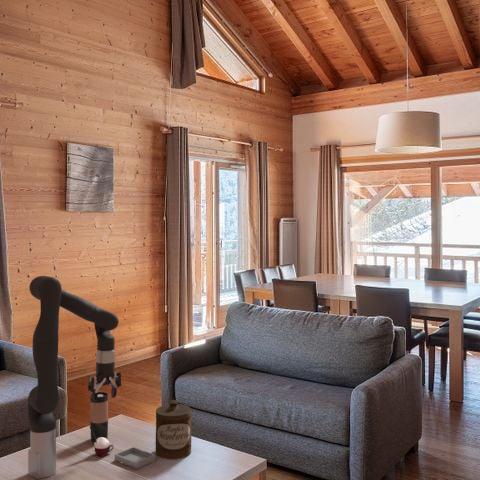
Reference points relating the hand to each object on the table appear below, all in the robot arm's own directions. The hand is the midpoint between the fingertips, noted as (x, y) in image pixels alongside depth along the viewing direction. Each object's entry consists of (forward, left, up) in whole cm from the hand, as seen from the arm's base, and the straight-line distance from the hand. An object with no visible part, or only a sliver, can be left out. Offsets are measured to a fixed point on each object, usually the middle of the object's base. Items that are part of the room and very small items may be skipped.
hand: (104, 399), depth 237 cm
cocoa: (-2, -1, -23) cm, 23 cm away
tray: (+2, -16, -22) cm, 28 cm away
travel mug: (+7, +12, -22) cm, 26 cm away
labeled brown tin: (+18, -22, -23) cm, 36 cm away
